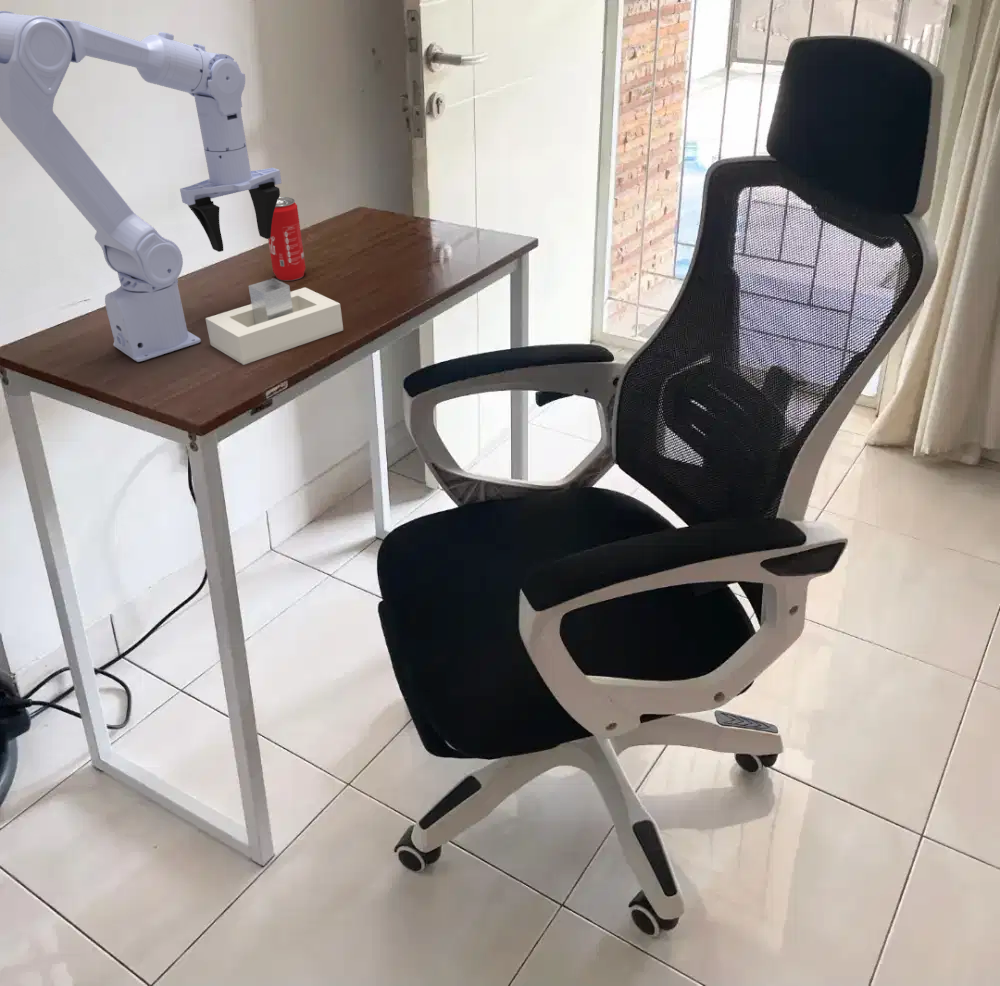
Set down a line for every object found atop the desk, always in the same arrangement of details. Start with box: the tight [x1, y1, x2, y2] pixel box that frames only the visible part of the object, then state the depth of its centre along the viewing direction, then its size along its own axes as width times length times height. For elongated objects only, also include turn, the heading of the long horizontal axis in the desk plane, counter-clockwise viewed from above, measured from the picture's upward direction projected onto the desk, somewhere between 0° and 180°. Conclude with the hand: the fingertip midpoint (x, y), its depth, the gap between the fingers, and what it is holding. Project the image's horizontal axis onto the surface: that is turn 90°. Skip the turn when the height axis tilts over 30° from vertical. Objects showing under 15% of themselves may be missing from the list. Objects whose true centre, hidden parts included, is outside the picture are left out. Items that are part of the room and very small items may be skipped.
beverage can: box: [267, 196, 307, 282], centre depth 158 cm, size 5×5×12 cm
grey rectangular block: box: [248, 277, 293, 325], centre depth 139 cm, size 4×4×7 cm
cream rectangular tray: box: [205, 287, 344, 366], centre depth 140 cm, size 16×9×4 cm, turn 132°
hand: (242, 243), depth 145 cm, fingers open, 7 cm apart
